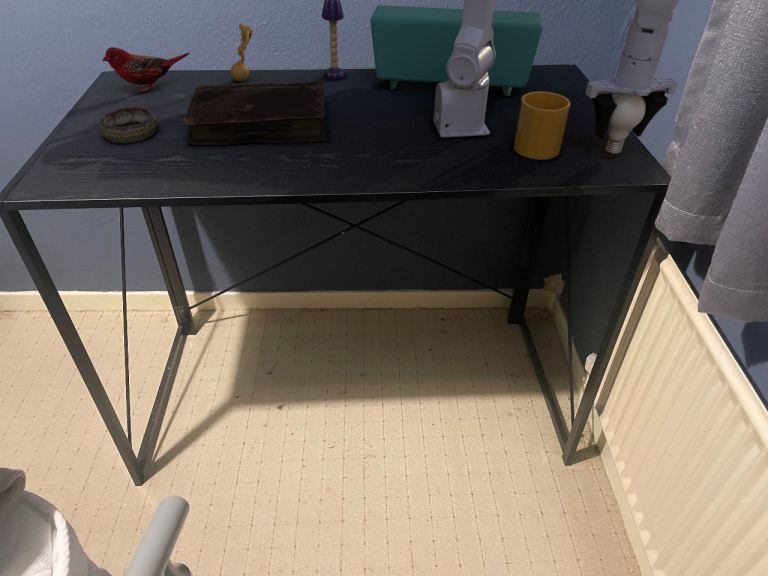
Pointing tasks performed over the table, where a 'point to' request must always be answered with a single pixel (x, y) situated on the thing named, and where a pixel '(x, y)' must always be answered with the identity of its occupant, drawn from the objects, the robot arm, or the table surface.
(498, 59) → the radio
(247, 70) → the figurine
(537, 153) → the mug
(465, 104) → the robot arm
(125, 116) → the decorative ring
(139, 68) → the decorative bird figurine
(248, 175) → the table surface
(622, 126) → the lightbulb
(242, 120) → the diary
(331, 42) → the toy lamp
